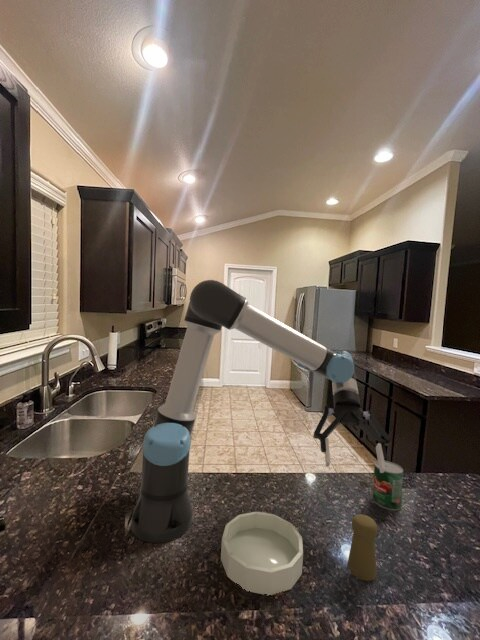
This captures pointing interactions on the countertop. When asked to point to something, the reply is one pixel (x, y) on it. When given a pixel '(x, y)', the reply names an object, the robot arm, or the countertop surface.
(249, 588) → the bowl
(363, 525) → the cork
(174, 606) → the countertop surface
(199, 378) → the robot arm
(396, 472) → the canned tomato
